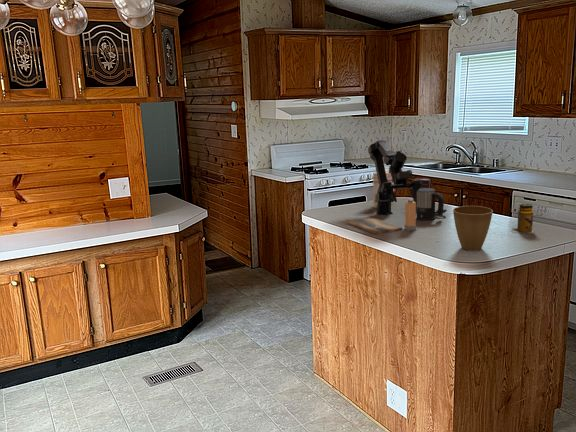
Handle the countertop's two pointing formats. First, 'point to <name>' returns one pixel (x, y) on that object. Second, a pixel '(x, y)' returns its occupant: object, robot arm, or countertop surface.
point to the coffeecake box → (376, 186)
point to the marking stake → (410, 215)
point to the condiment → (524, 219)
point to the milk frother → (429, 204)
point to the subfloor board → (374, 225)
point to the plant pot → (472, 225)
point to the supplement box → (423, 186)
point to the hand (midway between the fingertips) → (405, 201)
